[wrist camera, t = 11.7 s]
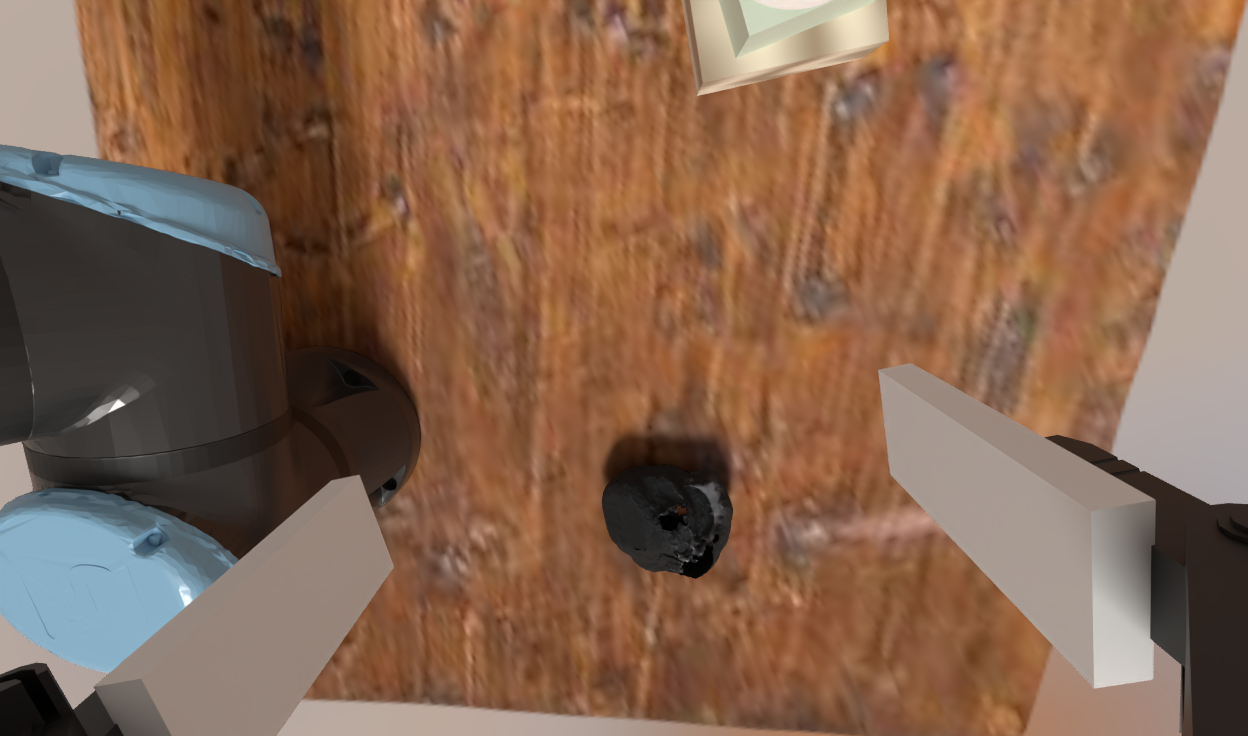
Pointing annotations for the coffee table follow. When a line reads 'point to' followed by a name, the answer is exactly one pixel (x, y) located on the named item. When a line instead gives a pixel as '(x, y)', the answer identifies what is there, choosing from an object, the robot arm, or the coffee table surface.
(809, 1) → the cup
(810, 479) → the coffee table surface
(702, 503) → the rock
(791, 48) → the tower base
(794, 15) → the tower top
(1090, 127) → the coffee table surface
